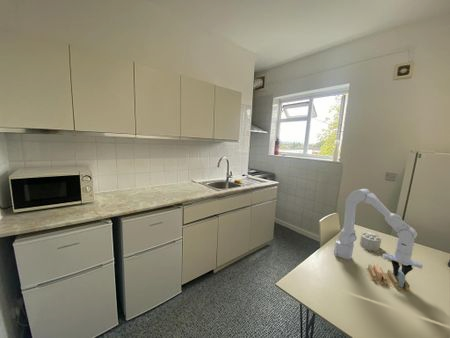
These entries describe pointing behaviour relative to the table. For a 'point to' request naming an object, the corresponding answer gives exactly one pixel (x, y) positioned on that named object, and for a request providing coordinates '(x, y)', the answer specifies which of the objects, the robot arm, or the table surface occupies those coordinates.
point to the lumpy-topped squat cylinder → (370, 241)
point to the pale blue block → (400, 278)
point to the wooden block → (377, 272)
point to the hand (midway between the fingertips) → (398, 275)
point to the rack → (387, 279)
